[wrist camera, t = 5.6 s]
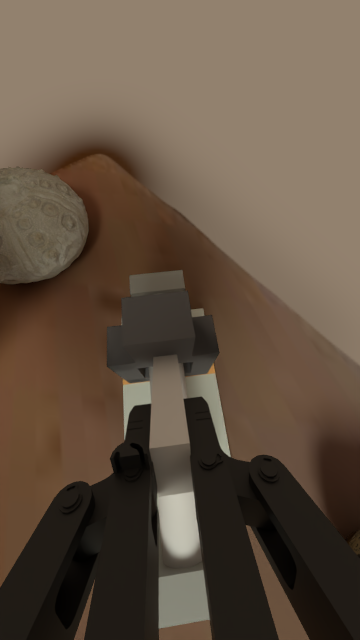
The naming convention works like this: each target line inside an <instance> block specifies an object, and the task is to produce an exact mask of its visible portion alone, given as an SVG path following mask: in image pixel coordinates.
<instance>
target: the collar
mask: <svg viewBox="0 0 360 640" xmlns="http://www.w3.org/2000/svg"><path fill="white" fill-rule="evenodd" d="M121 301H122V325H120V326H112V327H107V367H108V368H110V369H111V370H112V371H114V372H115V373H116V374H118V375H119V376H120V377H122V378H123V379H124V380H126V381H127V382H128V383H138V382H146V381H150V377H149V367H153V358H154V357H159V356H167V355H176V354H177V358H178V364H179V363H183V367H184V375H185V376H193V375H201V374H207V373H208V372H209V370H210V368H211V366H212V365H213V363H214V361H215V359H216V358H217V356H218V354H219V348H218V343H217V338H216V333H215V328H214V323H213V318H212V315H208V316H199V317H192V314H191V308H190V302H189V295H188V291H181V292H172V293H163V294H154V295H144V296H135V297H126V298H121Z"/></svg>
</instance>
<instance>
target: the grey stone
mask: <svg viewBox="0 0 360 640" xmlns="http://www.w3.org/2000/svg"><path fill="white" fill-rule="evenodd" d="M88 232H89V228H88V218H87V212H86V210H85V206H84V205H83V200H82V199H81V198H79V196H78V195H77V194H76V193H75V192H74V191H73V190H72V189H71V188H70V187H69V185H68V184H66V183H65V182H63V181H62V180H60V178H59V177H58V176H57V175H55V176H53V175H51V174H48V173H46V172H44V171H43V170H42V169H41V170H35V169H28V168H26V169H25V168H19V167H16V168H10V167H9V168H3V169H0V283H4V284H18V283H30V282H37V281H40V280H44V279H50V278H52V277H55V276H57V275H58V274H59V273H60V272H61V271H63V270H65V269H66V268H68V267H69V266H70V265H71V263H72V262H73V261H74V260H75V259H76V258H78V256H79V255H80V254H81V252H82V250H83V247H84V245H85V243H86V239H87V235H88Z"/></svg>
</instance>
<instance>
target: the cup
mask: <svg viewBox="0 0 360 640" xmlns="http://www.w3.org/2000/svg"><path fill="white" fill-rule="evenodd" d="M346 542H347V543H348V544H349V546H350V547H351V548H352V549H353V551H354V552H355V553H356V554H357V556H358V557H359V558H360V530H359V531H357V532H354V533H351V534H350V535H349V536H348V537H347V539H346Z"/></svg>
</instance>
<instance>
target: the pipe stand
mask: <svg viewBox="0 0 360 640" xmlns="http://www.w3.org/2000/svg"><path fill="white" fill-rule="evenodd" d="M129 277H130V295H131V297H135V296H144V295H154V294H163V293H172V292H181V291H185V284H184V278H183V271H182V270H177V271H167V272H158V273H148V274H138V275H129ZM191 314H192V317H199V316H204V310H203V308H201V309H192V310H191ZM178 365H179V372H180V379H181V386H182V393H183V399H186V398H194V397H201V396H202V397H203V398H204V399H205V401H206V402H207V403H208V406H209V409H210V413H211V417H212V420H213V424H214V427H215V431H216V434H217V438H218V441H219V445H220V447H221V449H222V450H223V452H224V453H225V454H227V455H228V456H229V457H231V456H230V451H229V445H228V440H227V435H226V429H225V424H224V418H223V413H222V408H221V402H220V397H219V391H218V386H217V381H216V375H215V369H214V364H213V365H212V366H211V368H210V370H209V372H208V373H207V374H201V375H193V376H185V375H184V367H183V363H179V364H178ZM149 377H150V381H146V382H138V383H128V382H127V381H126V380H124V379H123V397H124V439H125V435H126V431H127V430H126V429H127V424H128V417H129V413H130V411H131V410H132V408H133V407H134V406H135V405H143V404H151V401H152V379H153V367H149ZM157 507H158V512H159V628H164V627H170V626H175V625H181V624H187V623H192V622H198V621H203V620H209V619H210V618H209V610H208V602H207V594H206V587H205V579H204V571H203V563H202V556H201V548H200V540H199V532H198V524H197V520H196V509H195V499H194V492H189V493H182V494H175V495H168V496H161V497H158V493H157Z"/></svg>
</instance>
